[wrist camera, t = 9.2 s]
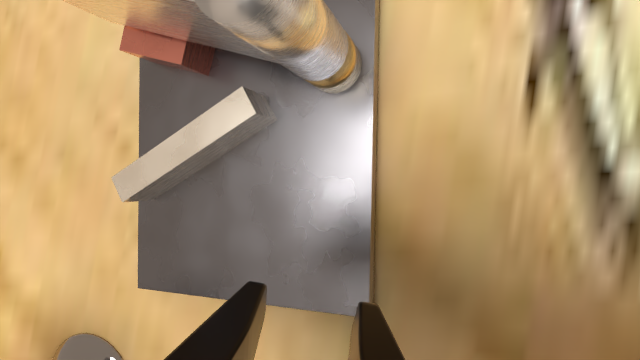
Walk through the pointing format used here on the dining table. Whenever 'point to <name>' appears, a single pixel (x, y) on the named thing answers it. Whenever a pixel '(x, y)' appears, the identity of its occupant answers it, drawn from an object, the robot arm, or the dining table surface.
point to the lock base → (257, 170)
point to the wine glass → (86, 349)
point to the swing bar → (241, 28)
